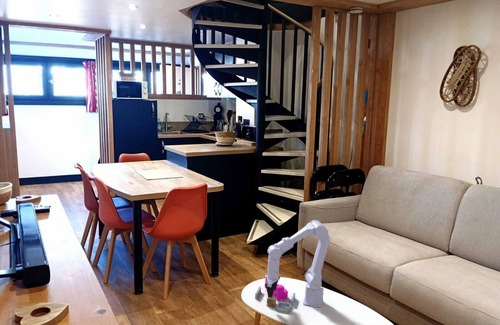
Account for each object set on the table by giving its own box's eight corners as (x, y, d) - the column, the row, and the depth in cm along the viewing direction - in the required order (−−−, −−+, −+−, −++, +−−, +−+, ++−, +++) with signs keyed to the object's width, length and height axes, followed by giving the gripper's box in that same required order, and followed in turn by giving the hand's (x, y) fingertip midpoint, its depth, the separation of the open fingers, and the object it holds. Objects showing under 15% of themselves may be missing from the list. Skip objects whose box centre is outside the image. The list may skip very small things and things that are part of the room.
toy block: (287, 299, 210) (288, 286, 209) (277, 301, 208) (277, 288, 206) (274, 285, 224) (275, 273, 222) (264, 287, 221) (265, 275, 220)
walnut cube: (276, 303, 205) (276, 296, 204) (274, 307, 201) (274, 300, 201) (268, 302, 206) (268, 295, 205) (266, 305, 202) (267, 298, 202)
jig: (294, 298, 211) (295, 293, 210) (289, 313, 196) (289, 308, 196) (259, 291, 216) (259, 286, 216) (251, 306, 202) (251, 300, 201)
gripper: (269, 261, 208) (267, 285, 211) (262, 273, 194) (260, 298, 197) (282, 264, 206) (280, 287, 209) (276, 276, 192) (274, 301, 195)
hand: (271, 293), depth 203 cm, fingers open, 7 cm apart
